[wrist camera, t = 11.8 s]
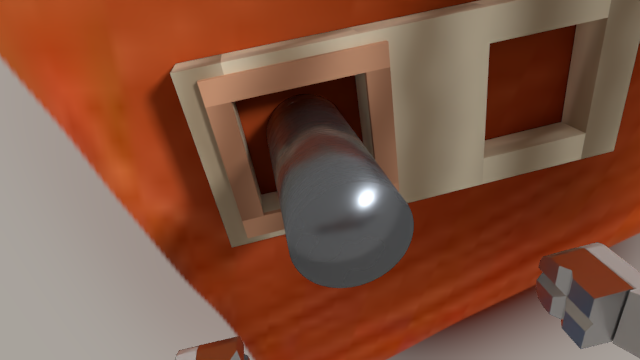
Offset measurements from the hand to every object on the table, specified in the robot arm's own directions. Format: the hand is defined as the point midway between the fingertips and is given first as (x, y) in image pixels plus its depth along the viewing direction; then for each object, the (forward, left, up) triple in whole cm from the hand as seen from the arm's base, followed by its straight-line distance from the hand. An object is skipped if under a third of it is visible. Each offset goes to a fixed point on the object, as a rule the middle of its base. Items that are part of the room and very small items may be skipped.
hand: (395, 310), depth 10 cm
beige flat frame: (-6, 0, -14) cm, 15 cm away
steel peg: (0, 0, -14) cm, 14 cm away
